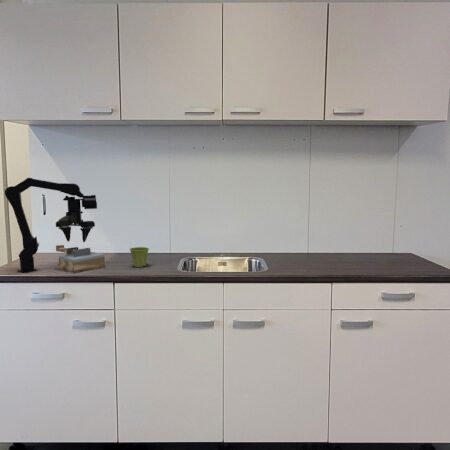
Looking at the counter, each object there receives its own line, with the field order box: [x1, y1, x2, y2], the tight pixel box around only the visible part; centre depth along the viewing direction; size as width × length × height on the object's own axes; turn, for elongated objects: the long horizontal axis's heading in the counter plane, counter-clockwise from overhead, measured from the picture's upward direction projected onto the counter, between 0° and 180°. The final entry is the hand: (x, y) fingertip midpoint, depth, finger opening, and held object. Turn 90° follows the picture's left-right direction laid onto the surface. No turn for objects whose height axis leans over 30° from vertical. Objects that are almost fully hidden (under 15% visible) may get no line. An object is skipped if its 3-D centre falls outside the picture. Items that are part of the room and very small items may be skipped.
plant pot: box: [129, 246, 150, 268], centre depth 180 cm, size 9×9×9 cm
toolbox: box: [58, 246, 106, 274], centre depth 176 cm, size 16×16×9 cm
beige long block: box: [55, 244, 73, 254], centre depth 184 cm, size 11×3×3 cm, turn 53°
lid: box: [58, 247, 106, 262], centre depth 175 cm, size 13×16×5 cm
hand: (76, 241), depth 178 cm, fingers open, 9 cm apart
